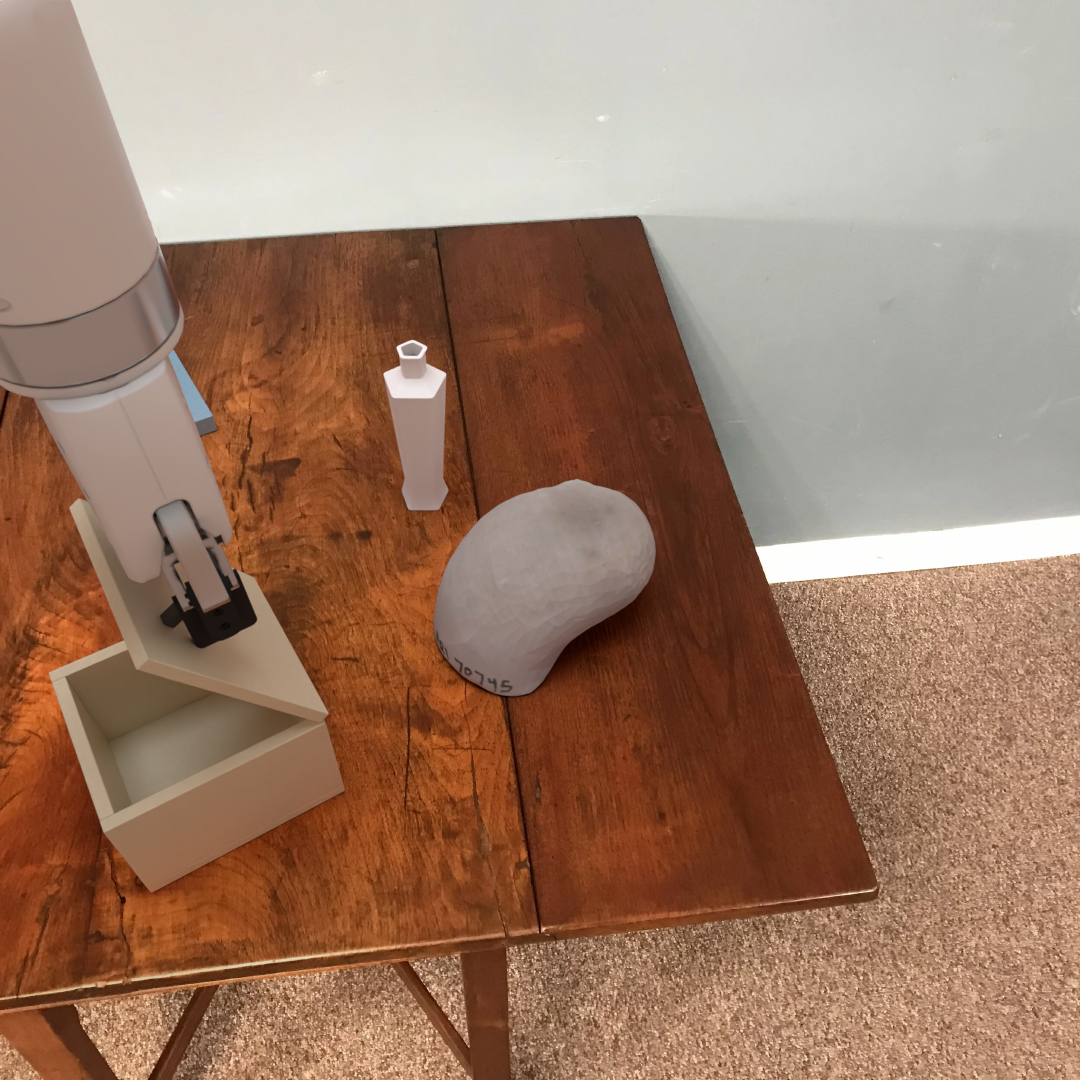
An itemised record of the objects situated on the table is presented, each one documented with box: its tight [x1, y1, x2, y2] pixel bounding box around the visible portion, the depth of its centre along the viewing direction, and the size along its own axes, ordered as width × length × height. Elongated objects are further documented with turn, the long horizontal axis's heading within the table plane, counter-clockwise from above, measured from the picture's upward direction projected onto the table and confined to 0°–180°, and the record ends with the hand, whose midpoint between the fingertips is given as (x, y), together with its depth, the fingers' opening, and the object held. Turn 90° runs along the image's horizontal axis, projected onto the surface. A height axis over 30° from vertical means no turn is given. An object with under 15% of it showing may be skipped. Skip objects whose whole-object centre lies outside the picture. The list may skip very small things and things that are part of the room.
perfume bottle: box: [383, 339, 449, 511], centre depth 72 cm, size 5×4×15 cm
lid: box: [68, 498, 330, 722], centre depth 51 cm, size 13×12×5 cm
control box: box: [168, 348, 218, 437], centre depth 82 cm, size 10×12×4 cm
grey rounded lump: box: [433, 478, 657, 697], centre depth 68 cm, size 15×14×15 cm
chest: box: [48, 640, 346, 894], centre depth 58 cm, size 13×12×9 cm
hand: (203, 584), depth 49 cm, fingers closed on lid, 6 cm apart
